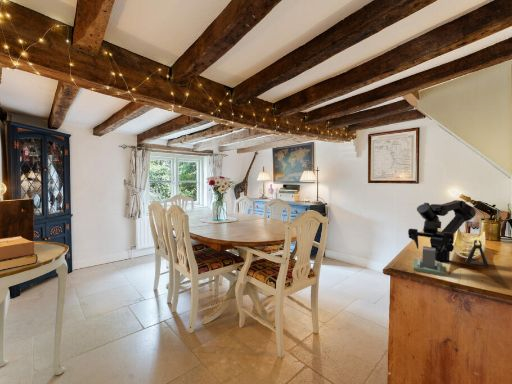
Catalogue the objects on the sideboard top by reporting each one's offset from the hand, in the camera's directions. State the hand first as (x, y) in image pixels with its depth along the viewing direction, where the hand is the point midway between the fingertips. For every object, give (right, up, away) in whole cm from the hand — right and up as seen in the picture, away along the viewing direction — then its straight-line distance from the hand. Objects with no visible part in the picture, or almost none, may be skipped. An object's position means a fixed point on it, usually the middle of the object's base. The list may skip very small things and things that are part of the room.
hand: (428, 250), depth 121 cm
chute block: (+1, -8, +2) cm, 9 cm away
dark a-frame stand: (+32, -10, +10) cm, 35 cm away
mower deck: (+2, -10, +3) cm, 10 cm away
